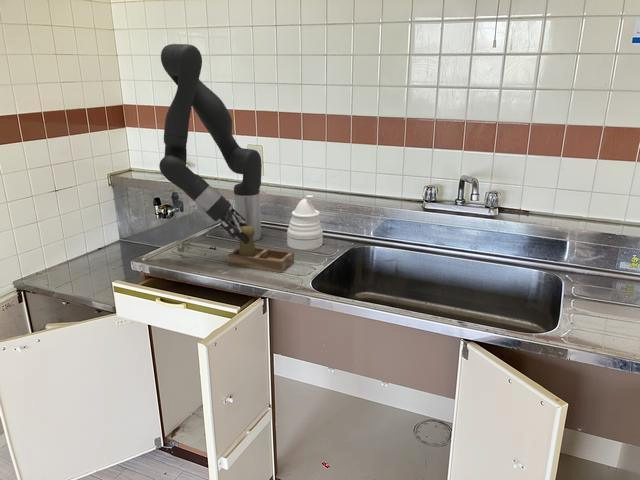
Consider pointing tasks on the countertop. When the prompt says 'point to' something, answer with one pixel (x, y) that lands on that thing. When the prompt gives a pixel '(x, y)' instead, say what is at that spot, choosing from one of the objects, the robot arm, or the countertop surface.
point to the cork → (249, 247)
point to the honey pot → (305, 227)
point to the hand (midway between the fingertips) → (250, 237)
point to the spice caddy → (263, 260)
